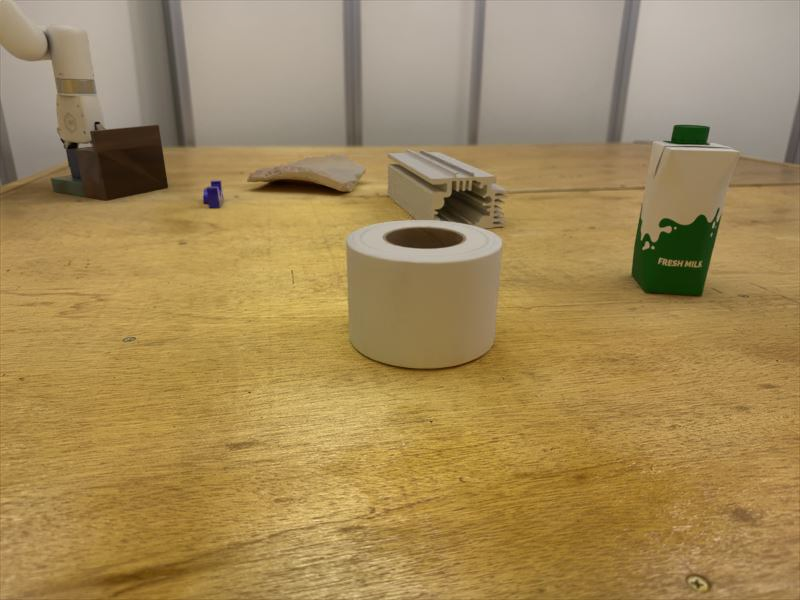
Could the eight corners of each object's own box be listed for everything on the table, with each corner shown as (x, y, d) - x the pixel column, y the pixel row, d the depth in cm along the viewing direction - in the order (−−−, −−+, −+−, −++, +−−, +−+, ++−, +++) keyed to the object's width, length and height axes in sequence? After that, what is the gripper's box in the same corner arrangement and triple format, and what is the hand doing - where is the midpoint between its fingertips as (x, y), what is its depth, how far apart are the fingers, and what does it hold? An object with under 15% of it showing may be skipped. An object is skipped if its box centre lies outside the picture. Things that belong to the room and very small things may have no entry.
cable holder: (206, 199, 117) (204, 180, 115) (223, 199, 118) (221, 180, 116) (201, 208, 110) (198, 188, 108) (219, 207, 110) (217, 187, 109)
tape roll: (349, 306, 65) (347, 217, 61) (478, 304, 66) (484, 216, 62) (347, 372, 51) (344, 262, 47) (510, 368, 52) (522, 260, 48)
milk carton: (687, 275, 77) (722, 125, 69) (712, 299, 68) (755, 132, 61) (622, 271, 78) (649, 123, 70) (639, 295, 69) (671, 130, 62)
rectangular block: (71, 177, 123) (65, 149, 121) (111, 170, 131) (106, 144, 129) (81, 178, 121) (75, 150, 119) (121, 171, 130) (116, 145, 127)
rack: (53, 191, 123) (38, 126, 117) (116, 180, 136) (105, 120, 130) (106, 200, 115) (92, 131, 110) (168, 187, 128) (158, 124, 123)
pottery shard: (281, 178, 144) (243, 185, 125) (281, 149, 141) (243, 152, 123) (370, 187, 139) (344, 196, 120) (372, 157, 137) (346, 161, 118)
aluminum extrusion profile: (447, 192, 126) (449, 147, 122) (505, 227, 99) (510, 170, 95) (387, 195, 123) (387, 149, 119) (430, 232, 96) (432, 174, 92)
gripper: (34, 86, 120) (49, 167, 126) (87, 90, 113) (100, 175, 119) (67, 86, 126) (80, 163, 132) (119, 90, 119) (130, 171, 125)
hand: (89, 168), depth 126 cm, fingers open, 9 cm apart
